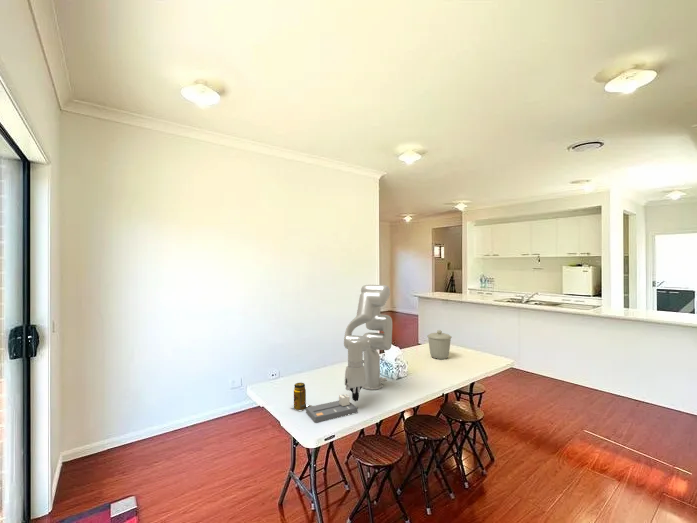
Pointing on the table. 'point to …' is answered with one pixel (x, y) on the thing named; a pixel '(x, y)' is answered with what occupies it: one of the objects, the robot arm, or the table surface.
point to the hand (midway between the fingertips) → (355, 400)
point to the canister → (439, 344)
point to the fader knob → (344, 400)
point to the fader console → (329, 411)
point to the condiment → (300, 396)
